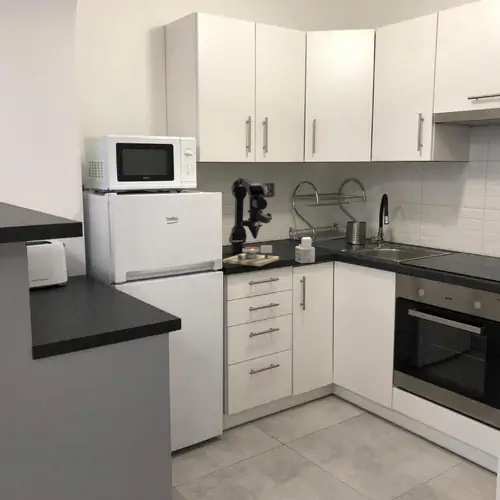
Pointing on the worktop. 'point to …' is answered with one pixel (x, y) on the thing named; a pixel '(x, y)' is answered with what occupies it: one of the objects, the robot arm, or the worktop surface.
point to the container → (305, 251)
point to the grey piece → (258, 249)
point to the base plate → (251, 259)
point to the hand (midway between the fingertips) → (255, 238)
